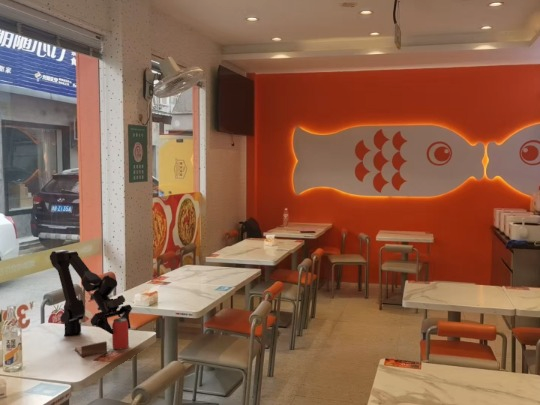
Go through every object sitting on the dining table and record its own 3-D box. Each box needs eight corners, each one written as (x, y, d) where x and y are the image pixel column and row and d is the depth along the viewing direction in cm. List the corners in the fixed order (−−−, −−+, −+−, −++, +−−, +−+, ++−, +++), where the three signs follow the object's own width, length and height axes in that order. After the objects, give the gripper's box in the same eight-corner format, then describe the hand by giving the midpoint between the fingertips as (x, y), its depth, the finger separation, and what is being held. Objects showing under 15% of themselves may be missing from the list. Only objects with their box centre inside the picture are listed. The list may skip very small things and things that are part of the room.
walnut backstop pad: (74, 349, 231) (74, 339, 231) (98, 345, 237) (98, 335, 237) (82, 357, 222) (82, 346, 222) (106, 352, 228) (106, 342, 228)
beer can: (122, 343, 239) (122, 316, 238) (131, 347, 235) (131, 319, 234) (109, 347, 234) (108, 320, 233) (118, 351, 230) (118, 323, 229)
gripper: (94, 294, 228) (112, 325, 222) (129, 286, 243) (147, 314, 238) (82, 310, 233) (100, 340, 227) (117, 301, 248) (134, 329, 243)
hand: (121, 330), depth 234 cm, fingers open, 9 cm apart
